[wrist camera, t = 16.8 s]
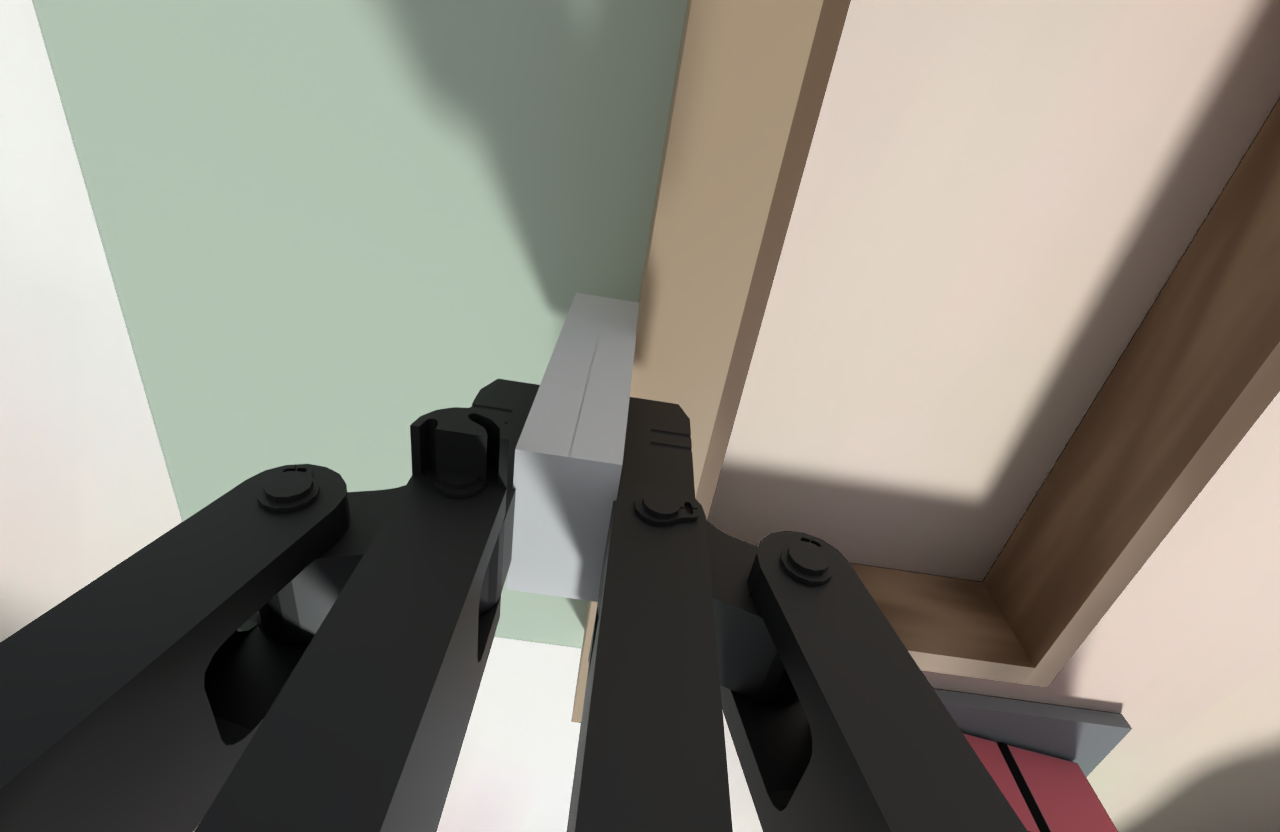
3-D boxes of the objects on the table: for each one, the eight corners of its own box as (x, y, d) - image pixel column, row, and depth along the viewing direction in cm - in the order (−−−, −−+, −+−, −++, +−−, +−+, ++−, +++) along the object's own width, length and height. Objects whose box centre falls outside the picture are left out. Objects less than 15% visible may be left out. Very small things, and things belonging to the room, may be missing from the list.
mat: (786, 820, 38) (788, 834, 37) (861, 679, 31) (866, 693, 30) (1000, 847, 39) (1006, 861, 38) (1121, 714, 32) (1131, 728, 31)
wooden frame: (288, 499, 26) (223, 575, 23) (142, -356, 14) (-61, -518, 10) (993, 600, 28) (1047, 687, 24) (1433, -86, 15) (1691, -135, 12)
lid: (218, 581, 22) (129, 684, 19) (-78, -533, 10) (-535, -899, 6) (649, 639, 23) (646, 750, 19) (885, -322, 11) (1005, -532, 7)
